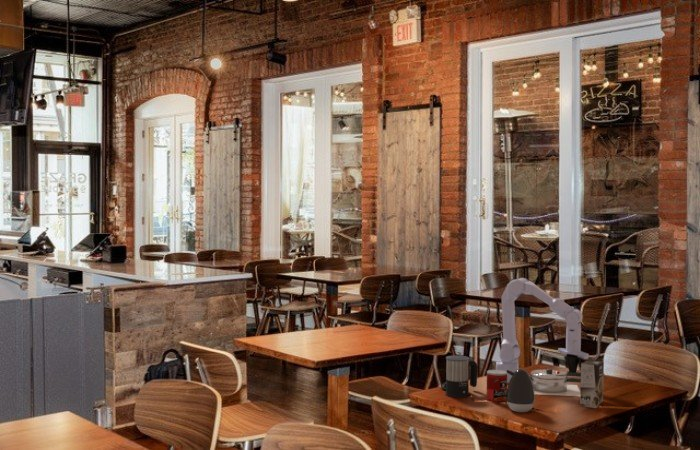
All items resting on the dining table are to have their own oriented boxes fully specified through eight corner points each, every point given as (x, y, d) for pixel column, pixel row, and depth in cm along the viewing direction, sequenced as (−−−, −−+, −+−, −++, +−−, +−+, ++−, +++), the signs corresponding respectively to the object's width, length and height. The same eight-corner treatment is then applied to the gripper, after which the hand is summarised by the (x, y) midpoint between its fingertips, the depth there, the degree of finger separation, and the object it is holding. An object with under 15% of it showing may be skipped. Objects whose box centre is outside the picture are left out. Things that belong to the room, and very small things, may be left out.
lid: (531, 378, 324) (531, 372, 324) (530, 370, 338) (530, 364, 338) (590, 381, 320) (590, 375, 320) (587, 373, 334) (587, 367, 334)
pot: (524, 391, 324) (525, 378, 324) (522, 384, 338) (523, 370, 338) (590, 395, 321) (590, 380, 320) (585, 387, 334) (585, 373, 334)
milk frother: (459, 399, 315) (460, 360, 315) (426, 392, 326) (427, 355, 326) (480, 393, 326) (481, 355, 325) (448, 386, 337) (448, 350, 336)
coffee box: (596, 408, 303) (597, 365, 303) (579, 406, 307) (580, 363, 306) (603, 403, 311) (604, 361, 311) (586, 401, 315) (587, 359, 314)
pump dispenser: (508, 405, 306) (509, 365, 305) (536, 408, 302) (537, 367, 301) (502, 412, 296) (503, 370, 296) (531, 415, 293) (532, 372, 292)
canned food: (494, 403, 309) (495, 374, 309) (482, 399, 316) (482, 370, 316) (511, 401, 312) (511, 372, 312) (498, 397, 320) (498, 368, 319)
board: (530, 396, 321) (530, 393, 321) (526, 385, 341) (527, 382, 341) (583, 399, 318) (583, 396, 318) (576, 387, 338) (576, 385, 338)
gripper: (552, 338, 335) (552, 371, 335) (579, 343, 323) (579, 378, 323) (565, 336, 339) (564, 369, 339) (592, 342, 326) (591, 376, 327)
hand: (572, 373), depth 331 cm, fingers closed
